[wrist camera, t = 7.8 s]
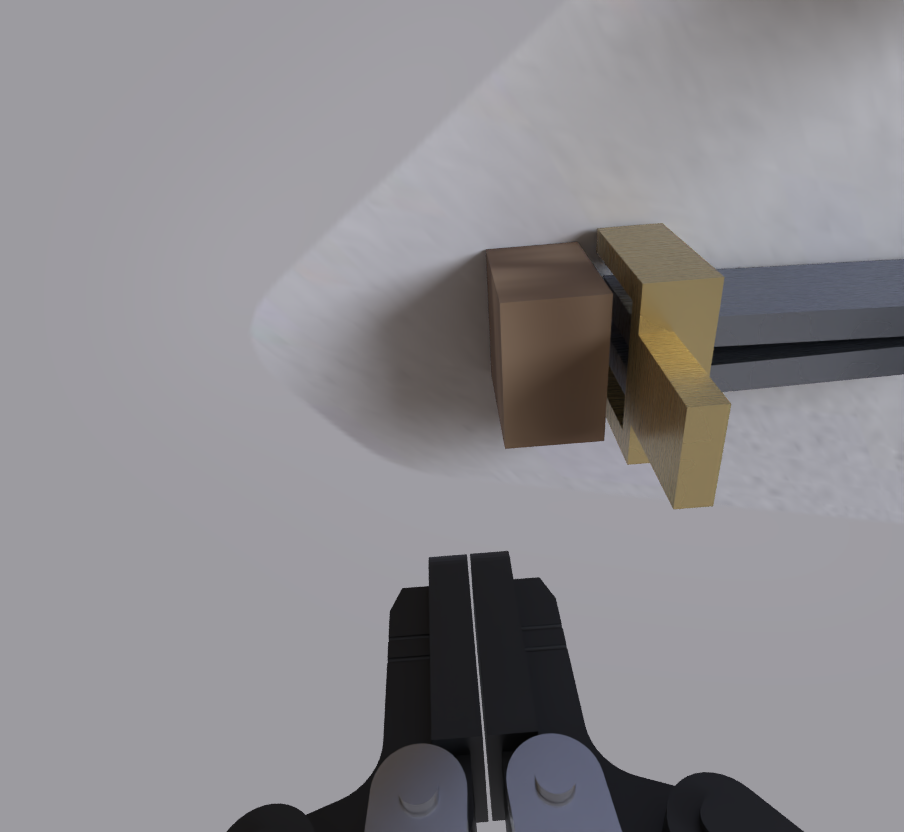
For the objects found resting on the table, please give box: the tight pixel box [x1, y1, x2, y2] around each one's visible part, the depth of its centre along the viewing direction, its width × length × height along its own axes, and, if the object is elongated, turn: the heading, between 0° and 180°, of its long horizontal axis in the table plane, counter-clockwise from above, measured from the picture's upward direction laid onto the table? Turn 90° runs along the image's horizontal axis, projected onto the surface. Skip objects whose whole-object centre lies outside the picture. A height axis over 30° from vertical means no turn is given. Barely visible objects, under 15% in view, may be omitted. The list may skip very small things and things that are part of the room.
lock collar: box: [596, 223, 731, 509], centre depth 20 cm, size 2×6×9 cm, turn 4°
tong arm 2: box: [603, 259, 904, 347], centre depth 21 cm, size 16×1×4 cm, turn 93°
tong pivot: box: [486, 242, 613, 449], centre depth 22 cm, size 3×5×5 cm, turn 4°
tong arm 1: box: [609, 321, 904, 394], centre depth 22 cm, size 16×1×4 cm, turn 95°
